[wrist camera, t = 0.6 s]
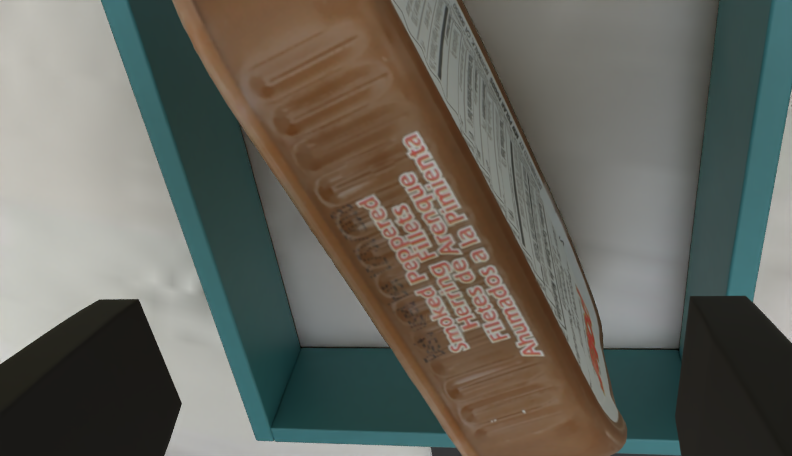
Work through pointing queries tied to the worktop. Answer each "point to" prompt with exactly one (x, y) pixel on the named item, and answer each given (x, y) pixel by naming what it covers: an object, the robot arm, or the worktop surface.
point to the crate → (378, 367)
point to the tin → (424, 208)
